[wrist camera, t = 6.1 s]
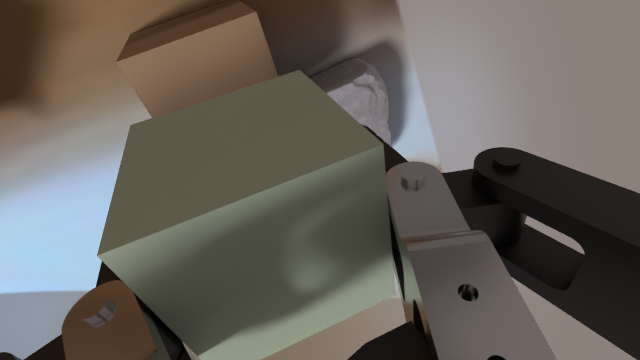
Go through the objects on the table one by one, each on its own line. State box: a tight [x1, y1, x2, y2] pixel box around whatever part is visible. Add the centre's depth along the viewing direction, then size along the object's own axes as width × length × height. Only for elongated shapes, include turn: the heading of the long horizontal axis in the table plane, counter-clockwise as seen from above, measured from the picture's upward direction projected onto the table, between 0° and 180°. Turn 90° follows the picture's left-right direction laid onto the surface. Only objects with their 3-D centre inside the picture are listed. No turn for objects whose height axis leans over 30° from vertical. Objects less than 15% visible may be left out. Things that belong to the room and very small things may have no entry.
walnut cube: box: [116, 0, 278, 118], centre depth 17 cm, size 6×6×6 cm
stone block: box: [309, 58, 391, 146], centre depth 24 cm, size 12×5×10 cm
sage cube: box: [97, 70, 396, 360], centre depth 9 cm, size 5×5×5 cm
